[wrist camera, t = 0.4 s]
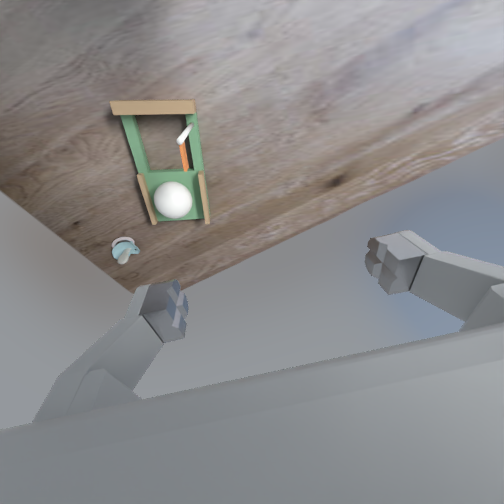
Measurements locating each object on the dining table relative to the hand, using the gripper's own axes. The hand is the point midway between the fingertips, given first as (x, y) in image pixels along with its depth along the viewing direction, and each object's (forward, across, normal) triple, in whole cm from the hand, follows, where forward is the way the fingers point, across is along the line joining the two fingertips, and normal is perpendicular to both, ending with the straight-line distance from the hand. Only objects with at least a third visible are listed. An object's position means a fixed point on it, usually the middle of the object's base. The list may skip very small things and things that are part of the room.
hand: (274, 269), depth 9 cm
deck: (+46, +14, +5) cm, 49 cm away
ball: (+40, +15, +10) cm, 44 cm away
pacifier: (+47, +34, +22) cm, 62 cm away
